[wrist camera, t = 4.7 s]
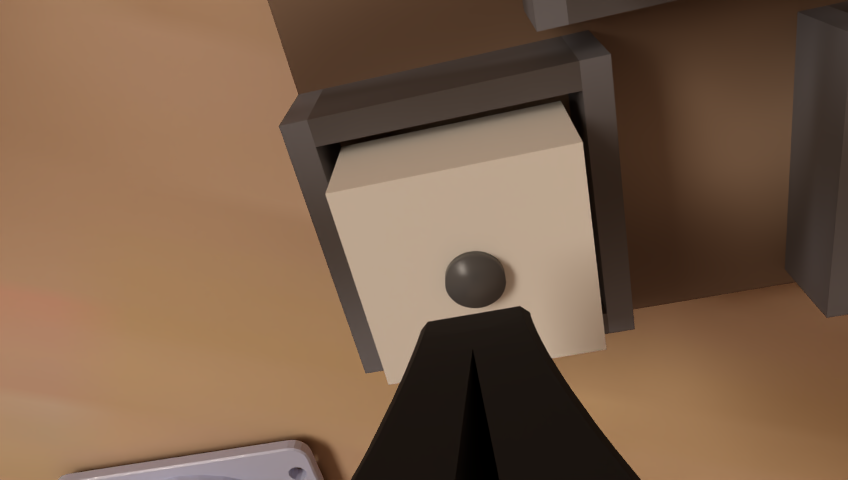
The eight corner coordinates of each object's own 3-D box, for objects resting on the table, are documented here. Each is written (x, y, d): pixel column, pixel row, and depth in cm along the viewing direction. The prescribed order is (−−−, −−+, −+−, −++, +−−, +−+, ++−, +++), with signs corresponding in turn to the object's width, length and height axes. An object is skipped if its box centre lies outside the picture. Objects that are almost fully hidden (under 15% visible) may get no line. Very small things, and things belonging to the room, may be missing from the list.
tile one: (584, 287, 13) (609, 356, 11) (395, 319, 14) (387, 392, 12) (560, 100, 11) (585, 146, 10) (341, 147, 12) (323, 199, 10)
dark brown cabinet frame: (1019, 211, 15) (1141, 283, 12) (385, 321, 17) (376, 404, 14) (1222, -622, 9) (1551, -827, 6) (189, -302, 11) (109, -356, 8)
